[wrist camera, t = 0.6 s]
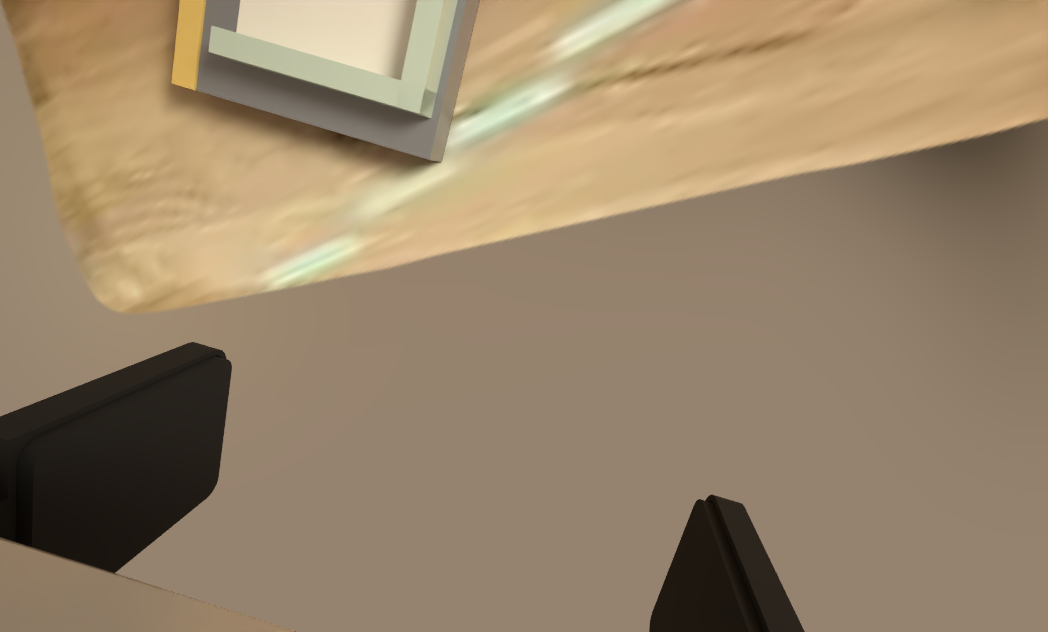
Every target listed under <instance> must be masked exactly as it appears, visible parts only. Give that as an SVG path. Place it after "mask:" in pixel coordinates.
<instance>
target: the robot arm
mask: <svg viewBox="0 0 1048 632" xmlns="http://www.w3.org/2000/svg"><path fill="white" fill-rule="evenodd" d="M231 369H232V366H231V362H230V361H229V360H227V359H226V356H225V353H224V352H223V351H222V350H219V349H215V348H212V347H208V346H205V345H202V344H198V343H194V342H191V343H187V344H185V345H182V346H180V347H177V348H175V349H172V350H169V351H167V352H164V353H162V354H159V355H157V356H154V357H152V358H149V359H146V360H144V361H141V362H139V363H136V364H134V365H131V366H128V367H126V368H124V369H121V370H118V371H116V372H114V373H111V374H108V375H105V376H103V377H100V378H98V379H95V380H93V381H90V382H88V383H85V384H83V385H80V386H77V387H75V388H72V389H70V390H67V391H65V392H62V393H60V394H57V395H54V396H52V397H49V398H47V399H44V400H41V401H39V402H36V403H34V404H32V405H29V406H26V407H24V408H21V409H18V410H16V411H13V412H11V413H8V414H6V415H3V416H1V417H0V632H296V631H293V630H290V629H287V628H283V627H280V626H277V625H274V624H271V623H268V622H265V621H262V620H259V619H256V618H253V617H249V616H246V615H243V614H240V613H237V612H234V611H231V610H228V609H225V608H221V607H218V606H215V605H212V604H209V603H206V602H203V601H200V600H197V599H193V598H190V597H187V596H184V595H181V594H178V593H175V592H172V591H168V590H166V589H162V588H159V587H156V586H153V585H150V584H147V583H143V582H140V581H137V580H134V579H131V578H128V577H125V576H121V575H118V574H115V572H117V571H118V570H119V569H120V568H121V567H123V566H124V565H125V564H126V563H127V562H129V561H130V560H131V559H133V558H134V557H135V556H136V555H137V554H138V553H140V552H141V551H142V550H143V549H145V548H146V547H147V546H148V545H150V544H151V543H152V542H153V541H155V540H156V539H157V538H158V537H160V536H161V535H162V534H163V533H164V532H166V531H167V530H168V529H169V528H171V527H172V526H173V525H174V524H176V523H177V522H178V521H179V520H180V519H182V518H183V517H184V516H185V515H187V514H188V513H189V512H190V511H191V510H193V509H194V508H195V507H196V506H198V504H200V503H201V502H202V501H204V500H205V499H206V498H207V497H208V496H209V495H210V494H211V493H212V491H213V490H214V488H215V486H216V484H217V481H218V477H219V468H220V460H221V452H222V444H223V436H224V428H225V419H226V411H227V402H228V395H229V387H230V379H231V371H232V370H231ZM650 632H804V630H803V628H802V625H801V623H800V621H799V619H798V617H797V615H796V613H795V611H794V609H793V607H792V605H791V603H790V601H789V598H788V597H787V595H786V592H785V590H784V588H783V586H782V584H781V582H780V580H779V578H778V576H777V573H776V572H775V569H774V567H773V565H772V563H771V561H770V559H769V557H768V555H767V553H766V551H765V549H764V546H763V544H762V542H761V540H760V538H759V536H758V534H757V532H756V530H755V528H754V526H753V524H752V522H751V519H750V517H749V516H748V513H747V511H746V509H745V507H744V506H743V504H741V503H738V502H735V501H731V500H728V499H725V498H721V497H718V496H714V495H710V496H708V498H707V499H706V501H704V500H700V499H699V500H697V501H696V503H695V505H694V507H693V509H692V512H691V514H690V517H689V520H688V522H687V525H686V527H685V530H684V532H683V535H682V537H681V540H680V543H679V545H678V548H677V551H676V553H675V555H674V558H673V561H672V563H671V566H670V568H669V571H668V573H667V576H666V579H665V581H664V584H663V586H662V589H661V591H660V594H659V596H658V599H657V602H656V604H655V607H654V609H653V612H652V615H651V620H650Z"/></svg>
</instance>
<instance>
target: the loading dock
mask: <svg viewBox="0 0 1048 632" xmlns="http://www.w3.org/2000/svg"><path fill="white" fill-rule="evenodd" d="M479 1H480V0H180V3H179V13H178V23H177V33H176V43H175V52H174V62H173V72H172V82H171V83H172V84H175V85H178V86H182V87H185V88H189V89H192V90H196V91H199V92H202V93H206V94H209V95H212V96H216V97H219V98H223V99H226V100H229V101H233V102H236V103H239V104H243V105H246V106H250V107H253V108H256V109H260V110H263V111H266V112H270V113H273V114H276V115H280V116H283V117H287V118H290V119H293V120H297V121H300V122H303V123H307V124H310V125H313V126H317V127H320V128H324V129H327V130H330V131H334V132H337V133H340V134H344V135H347V136H350V137H354V138H357V139H361V140H364V141H367V142H371V143H374V144H377V145H381V146H384V147H387V148H391V149H394V150H398V151H401V152H404V153H408V154H411V155H414V156H418V157H421V158H424V159H428V160H433V161H439V162H442V159H443V155H444V151H445V146H446V142H447V138H448V133H449V129H450V125H451V121H452V116H453V112H454V108H455V104H456V99H457V95H458V91H459V87H460V82H461V78H462V74H463V70H464V65H465V61H466V57H467V52H468V48H469V44H470V40H471V35H472V31H473V27H474V23H475V18H476V14H477V10H478V6H479Z"/></svg>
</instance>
